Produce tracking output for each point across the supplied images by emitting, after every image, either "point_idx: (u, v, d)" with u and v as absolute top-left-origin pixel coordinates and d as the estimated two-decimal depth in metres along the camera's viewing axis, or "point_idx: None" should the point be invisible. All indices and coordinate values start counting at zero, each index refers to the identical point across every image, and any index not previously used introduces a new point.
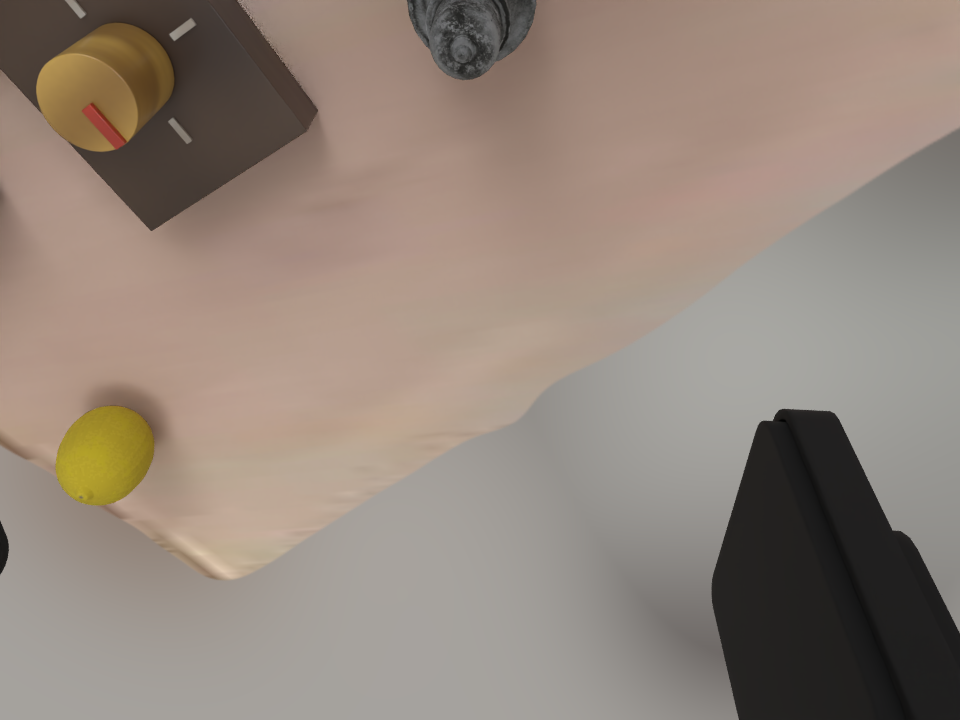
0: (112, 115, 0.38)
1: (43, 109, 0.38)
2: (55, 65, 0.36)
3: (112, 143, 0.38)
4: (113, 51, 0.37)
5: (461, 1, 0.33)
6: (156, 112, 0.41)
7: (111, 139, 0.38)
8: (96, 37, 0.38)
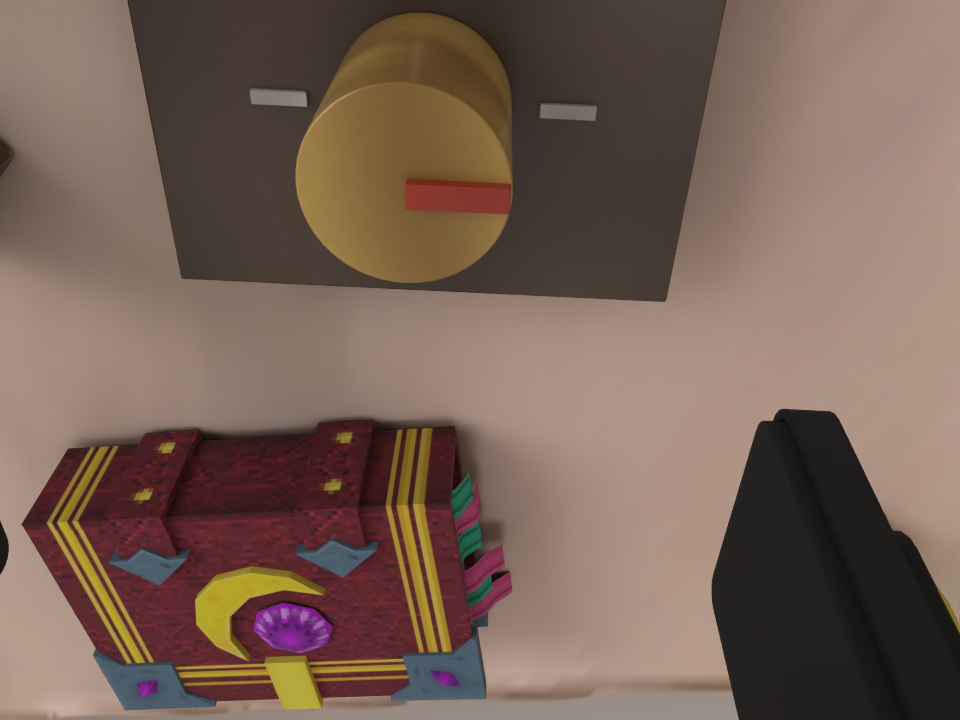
0: (450, 165, 0.17)
1: (364, 268, 0.18)
2: (308, 180, 0.17)
3: (494, 210, 0.17)
4: (358, 69, 0.17)
5: None
6: (511, 112, 0.20)
7: (486, 205, 0.17)
8: (329, 88, 0.19)
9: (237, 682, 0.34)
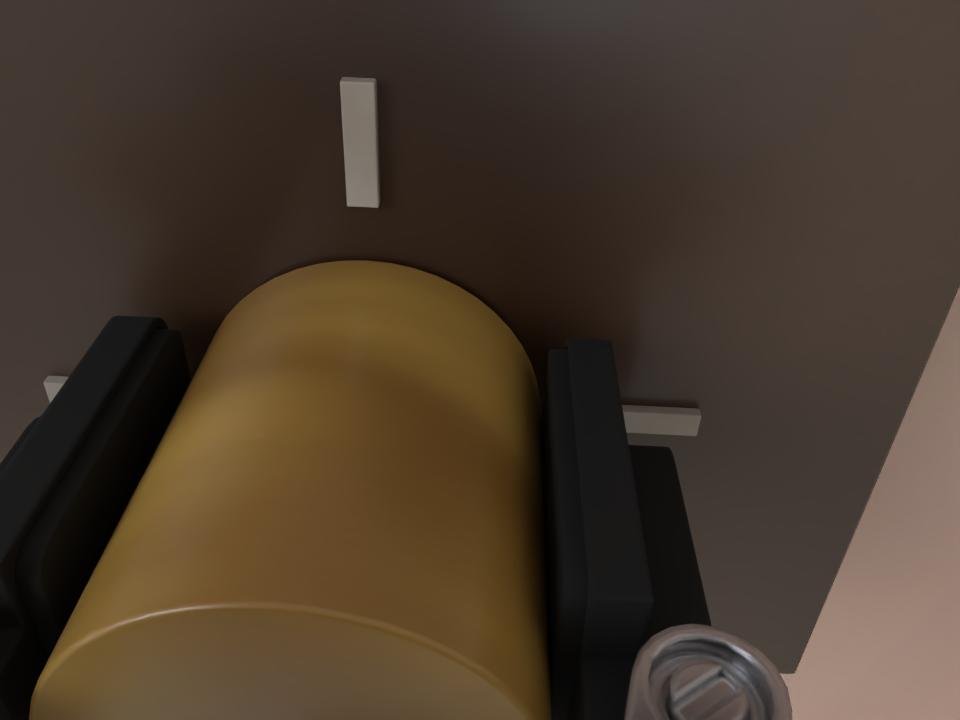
0: None
1: None
2: None
3: None
4: (186, 487, 0.07)
5: None
6: (540, 465, 0.10)
7: None
8: (150, 463, 0.09)
9: None
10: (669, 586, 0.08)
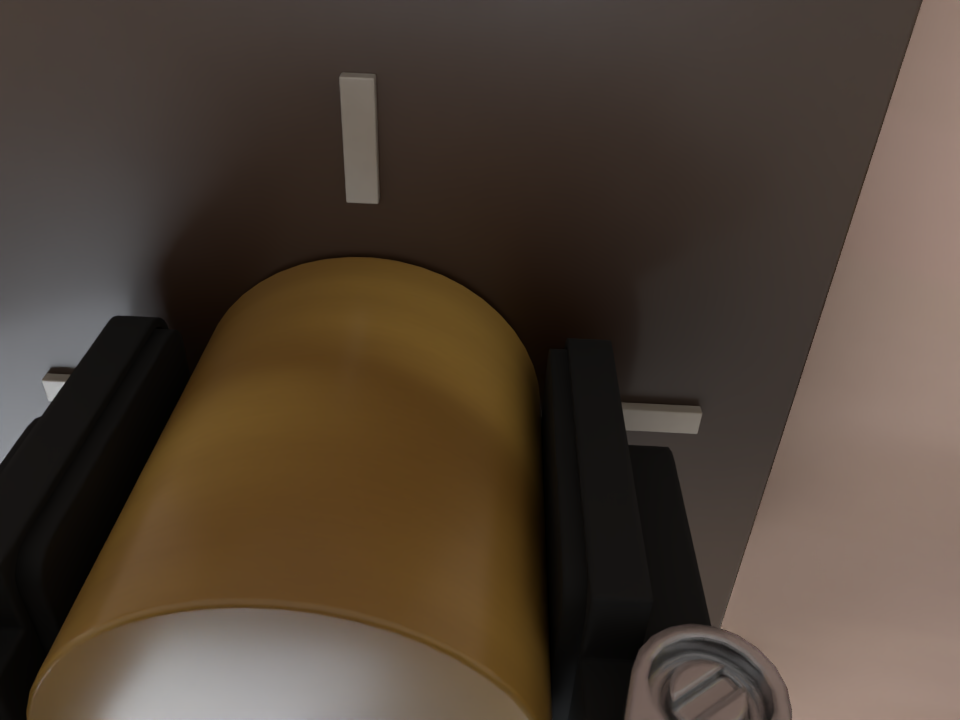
0: None
1: None
2: None
3: None
4: (191, 481, 0.07)
5: None
6: (542, 468, 0.10)
7: None
8: (151, 456, 0.08)
9: None
10: (669, 586, 0.08)
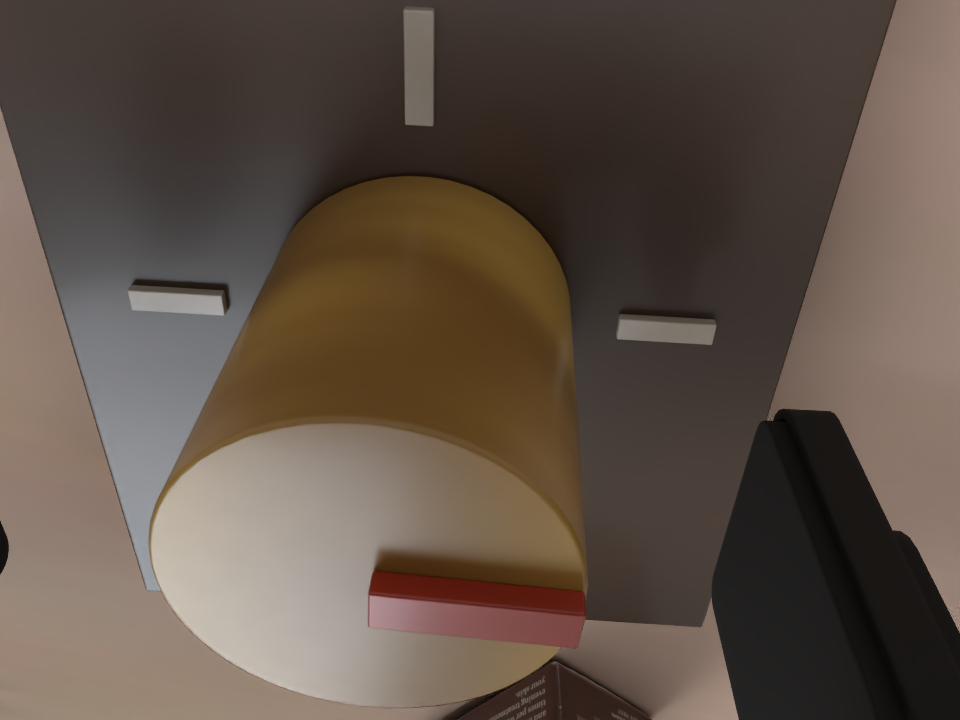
0: (463, 556, 0.08)
1: (289, 683, 0.10)
2: (173, 560, 0.08)
3: (547, 641, 0.08)
4: (289, 339, 0.08)
5: None
6: None
7: (532, 632, 0.08)
8: (241, 333, 0.10)
9: None
10: None
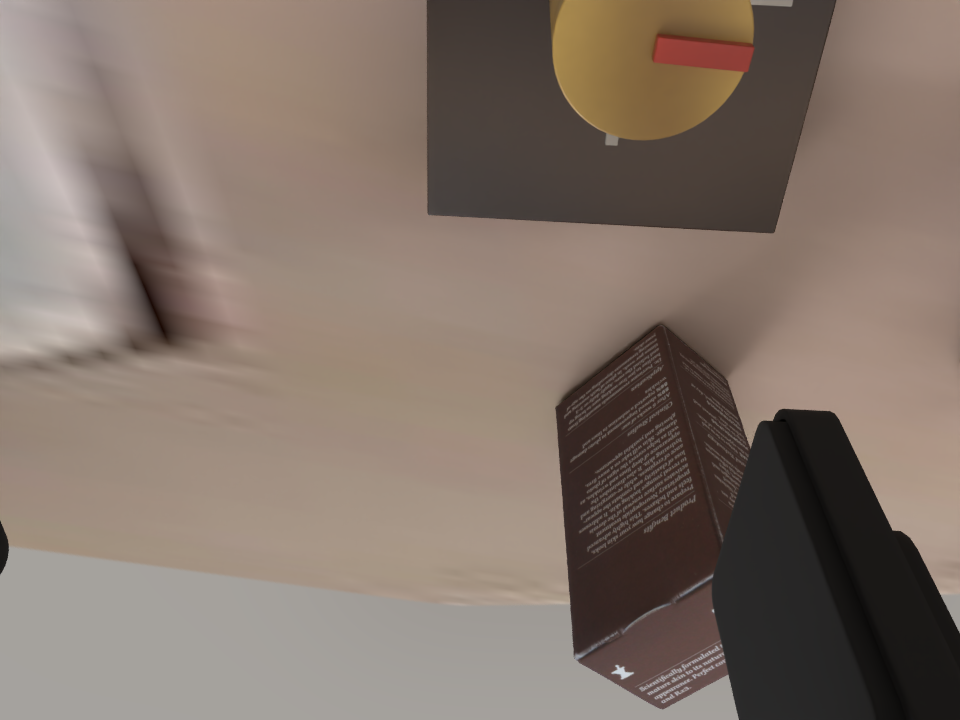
0: (700, 22, 0.18)
1: (598, 123, 0.20)
2: (566, 31, 0.19)
3: (734, 67, 0.19)
4: None
5: None
6: None
7: (728, 62, 0.19)
8: None
9: None
10: None
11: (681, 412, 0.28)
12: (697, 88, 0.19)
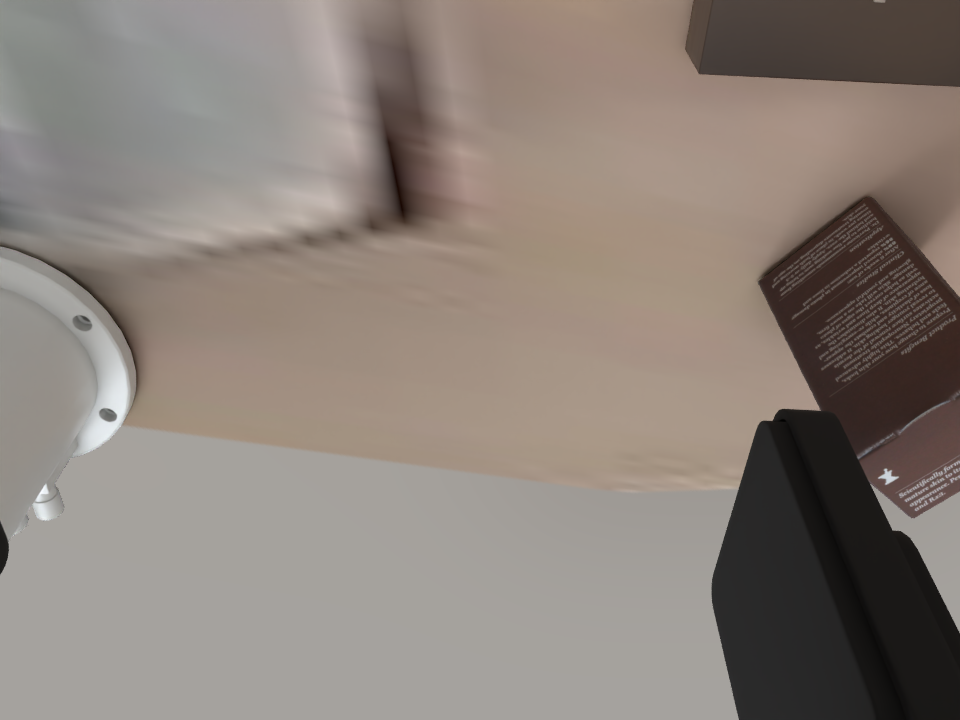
0: None
1: None
2: None
3: None
4: None
5: None
6: None
7: None
8: None
9: None
10: None
11: (917, 257, 0.31)
12: None
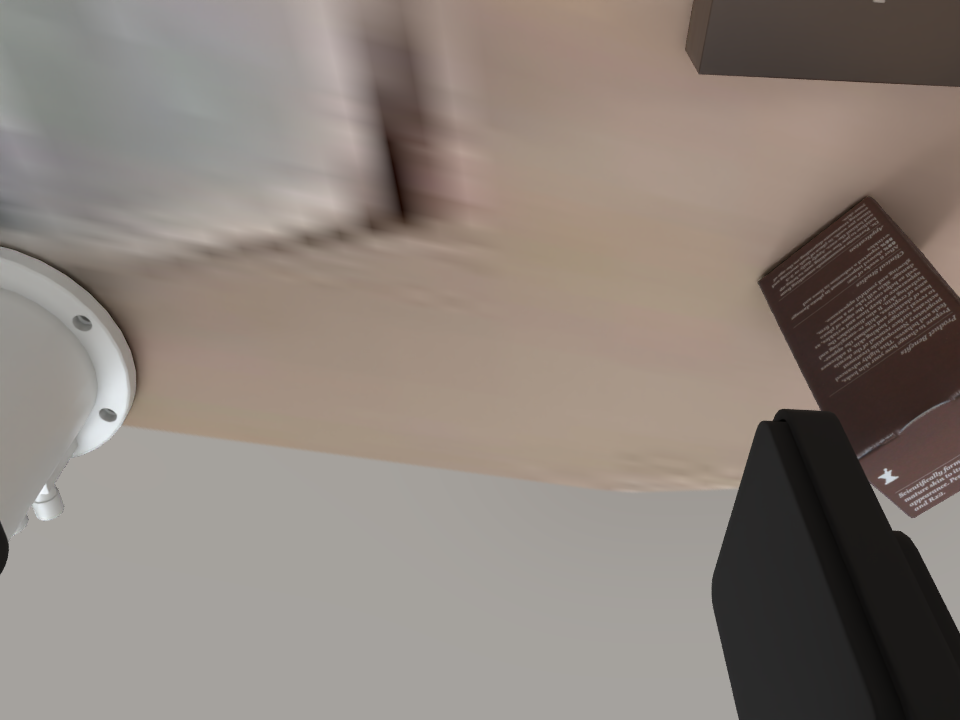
0: None
1: None
2: None
3: None
4: None
5: None
6: None
7: None
8: None
9: None
10: None
11: (917, 257, 0.31)
12: None
